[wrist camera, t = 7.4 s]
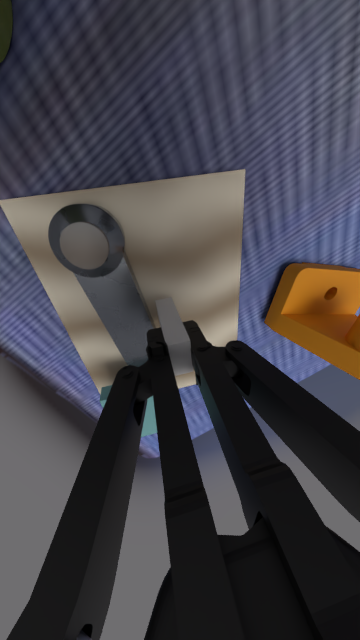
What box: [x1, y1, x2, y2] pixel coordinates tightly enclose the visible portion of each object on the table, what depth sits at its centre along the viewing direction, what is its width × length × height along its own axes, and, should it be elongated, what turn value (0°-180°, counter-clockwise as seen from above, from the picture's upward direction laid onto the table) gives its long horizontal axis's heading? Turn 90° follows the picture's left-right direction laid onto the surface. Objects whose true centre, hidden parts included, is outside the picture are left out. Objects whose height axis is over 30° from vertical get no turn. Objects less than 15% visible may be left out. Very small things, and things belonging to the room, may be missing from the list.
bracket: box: [264, 262, 360, 380], centre depth 19 cm, size 11×7×12 cm
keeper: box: [100, 385, 157, 437], centre depth 21 cm, size 7×6×5 cm
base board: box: [0, 169, 245, 395], centre depth 18 cm, size 22×17×5 cm
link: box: [48, 204, 156, 367], centre depth 17 cm, size 18×4×2 cm, turn 15°
